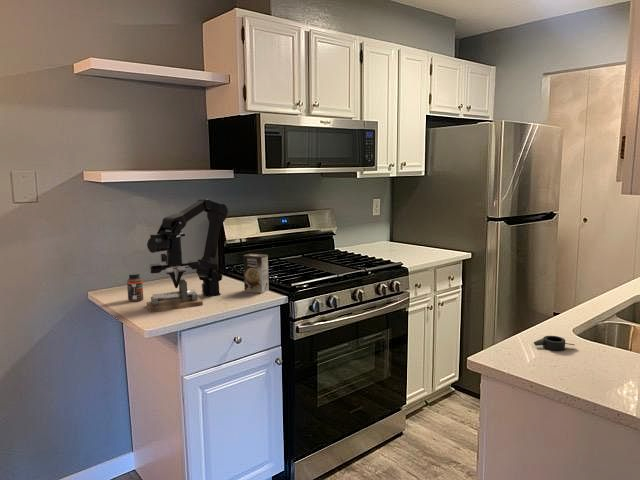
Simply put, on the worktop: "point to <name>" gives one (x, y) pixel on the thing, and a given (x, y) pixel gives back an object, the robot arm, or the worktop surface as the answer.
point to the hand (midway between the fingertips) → (176, 287)
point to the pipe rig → (172, 296)
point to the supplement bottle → (135, 287)
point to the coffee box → (255, 273)
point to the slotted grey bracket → (183, 290)
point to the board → (173, 304)
